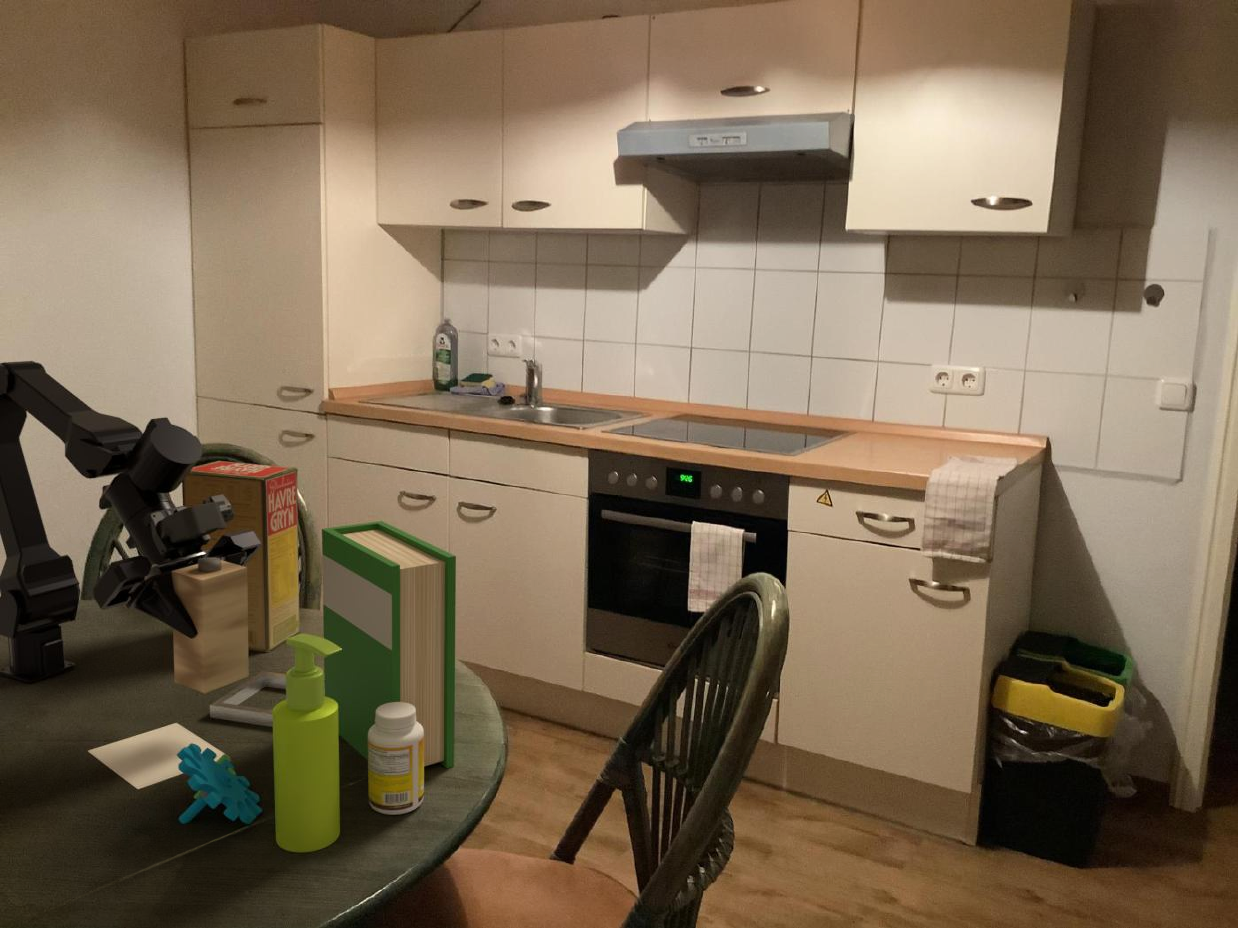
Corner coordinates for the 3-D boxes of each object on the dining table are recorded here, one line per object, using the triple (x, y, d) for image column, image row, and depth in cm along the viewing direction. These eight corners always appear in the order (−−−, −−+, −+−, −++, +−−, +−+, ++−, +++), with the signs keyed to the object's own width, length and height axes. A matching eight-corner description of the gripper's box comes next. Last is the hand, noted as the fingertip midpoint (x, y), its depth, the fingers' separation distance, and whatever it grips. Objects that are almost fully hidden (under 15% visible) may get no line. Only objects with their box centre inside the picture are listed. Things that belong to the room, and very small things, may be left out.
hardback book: (454, 765, 113) (455, 556, 108) (392, 784, 108) (391, 566, 104) (382, 709, 126) (381, 520, 122) (325, 724, 121) (321, 528, 117)
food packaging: (303, 631, 151) (300, 466, 147) (268, 653, 142) (263, 478, 138) (223, 621, 154) (218, 458, 150) (184, 642, 145) (176, 470, 141)
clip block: (174, 682, 114) (171, 562, 112) (218, 665, 120) (216, 550, 117) (204, 693, 112) (202, 571, 109) (248, 675, 117) (247, 558, 114)
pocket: (210, 719, 122) (209, 704, 121) (262, 684, 132) (262, 671, 132) (293, 731, 119) (293, 717, 119) (340, 695, 130) (339, 681, 129)
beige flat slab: (87, 753, 112) (87, 750, 112) (176, 725, 120) (176, 722, 120) (138, 791, 105) (137, 788, 104) (229, 759, 112) (229, 756, 112)
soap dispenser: (312, 863, 93) (308, 656, 90) (262, 839, 97) (256, 639, 93) (360, 834, 98) (358, 637, 95) (310, 812, 102) (307, 622, 98)
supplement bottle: (401, 783, 108) (400, 693, 106) (435, 802, 105) (435, 709, 103) (356, 803, 104) (355, 709, 102) (390, 823, 100) (390, 726, 99)
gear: (260, 827, 96) (178, 759, 94) (214, 875, 95) (130, 807, 93) (272, 785, 107) (199, 723, 105) (230, 828, 106) (156, 766, 104)
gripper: (104, 488, 105) (179, 612, 102) (249, 463, 121) (317, 568, 118) (62, 549, 111) (132, 668, 107) (206, 517, 127) (271, 619, 123)
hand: (219, 628), depth 114 cm, fingers closed on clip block, 6 cm apart
